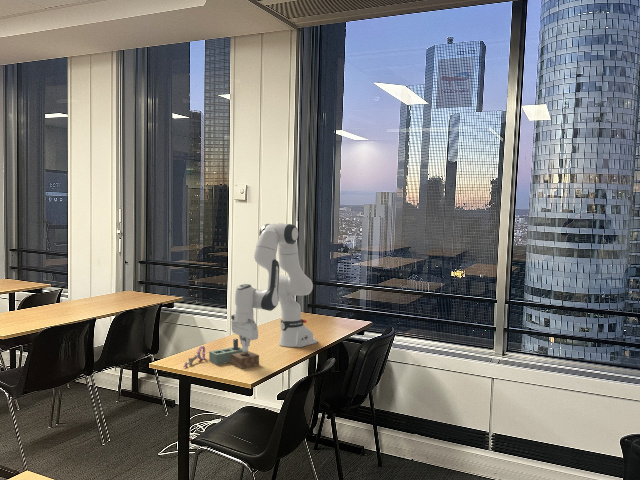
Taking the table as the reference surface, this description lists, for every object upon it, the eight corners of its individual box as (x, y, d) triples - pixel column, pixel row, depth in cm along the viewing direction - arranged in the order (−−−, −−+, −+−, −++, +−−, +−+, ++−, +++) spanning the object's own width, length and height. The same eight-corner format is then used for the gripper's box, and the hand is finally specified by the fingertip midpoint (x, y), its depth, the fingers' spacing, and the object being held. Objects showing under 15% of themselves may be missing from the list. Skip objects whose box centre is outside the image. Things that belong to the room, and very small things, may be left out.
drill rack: (237, 355, 286) (237, 346, 286) (244, 359, 280) (244, 349, 279) (209, 361, 276) (209, 351, 276) (216, 364, 270) (216, 354, 270)
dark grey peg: (236, 357, 283) (236, 338, 282) (239, 358, 281) (238, 339, 280) (232, 358, 281) (232, 339, 281) (235, 359, 279) (234, 340, 279)
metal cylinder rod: (246, 362, 272) (246, 334, 271) (249, 363, 269) (249, 335, 268) (241, 363, 270) (240, 335, 269) (244, 364, 268) (243, 336, 267)
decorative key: (182, 374, 265) (204, 356, 283) (185, 374, 264) (206, 356, 283) (181, 361, 263) (202, 344, 282) (183, 361, 263) (204, 344, 281)
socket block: (248, 360, 277) (248, 351, 276) (259, 365, 269) (259, 355, 268) (231, 364, 270) (231, 354, 270) (241, 369, 263) (241, 358, 262)
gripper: (261, 320, 262) (261, 348, 263) (240, 313, 278) (240, 340, 279) (249, 322, 258) (250, 350, 259) (229, 315, 274) (229, 342, 275)
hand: (245, 345), depth 269 cm, fingers closed on metal cylinder rod, 3 cm apart
